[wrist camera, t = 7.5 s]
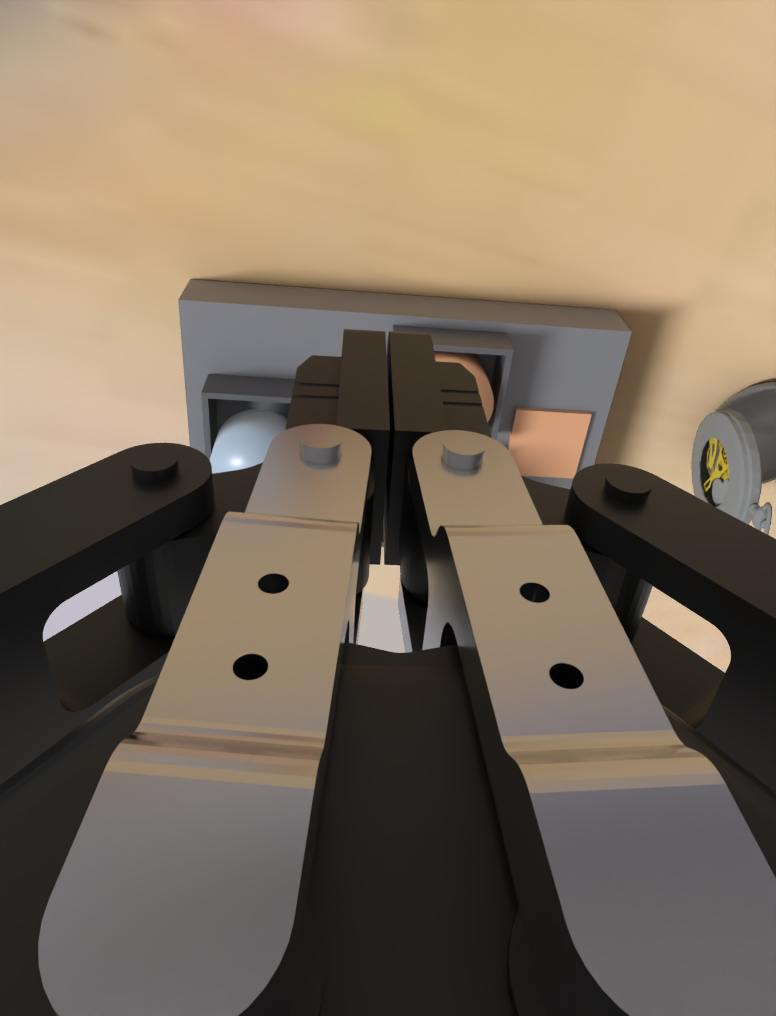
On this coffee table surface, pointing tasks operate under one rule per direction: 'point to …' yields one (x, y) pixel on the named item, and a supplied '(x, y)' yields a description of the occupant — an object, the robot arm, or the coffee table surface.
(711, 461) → the pocket watch
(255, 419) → the slate button
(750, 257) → the coffee table surface
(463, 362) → the terracotta button
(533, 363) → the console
